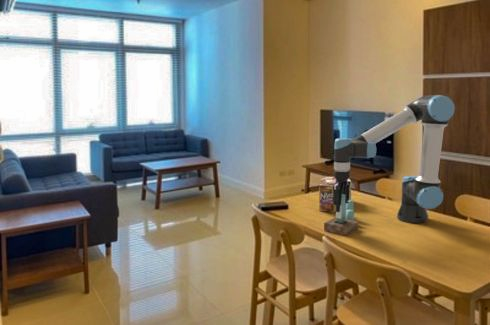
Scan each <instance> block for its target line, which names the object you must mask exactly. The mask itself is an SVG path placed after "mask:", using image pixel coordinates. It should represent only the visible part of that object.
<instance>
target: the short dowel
mask: <svg viewBox="0 0 490 325" xmlns="http://www.w3.org/2000/svg"><path fill="white" fill-rule="evenodd" d="M345 219H349V220H354V221H355V210H354V209H353V210H346V216H345Z"/></svg>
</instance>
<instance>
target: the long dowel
mask: <svg viewBox="0 0 490 325" xmlns="http://www.w3.org/2000/svg"><path fill="white" fill-rule="evenodd" d="M345 196H346V195H345V194H342V198H341V205H342V216H341V219H339V218H337V223H339V224H345V219H346V216H345Z"/></svg>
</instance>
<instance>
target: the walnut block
mask: <svg viewBox="0 0 490 325" xmlns="http://www.w3.org/2000/svg"><path fill="white" fill-rule="evenodd" d="M358 229H359V221H357V220H355V219H354V220H349V219H346V218H345V224H339V223H337V218H336V216H335V217H333V218H331V219H329V220H327V221H325V222H324V223H323V231H324V232H329V233H333V234H337V235H341V236H348V235H350V234H352V233H353V232H356V231H357V230H358Z"/></svg>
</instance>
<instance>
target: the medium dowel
mask: <svg viewBox="0 0 490 325" xmlns="http://www.w3.org/2000/svg"><path fill="white" fill-rule="evenodd" d="M348 202H349V203H346V210H354V209H355V208H354V203H355V201H354V200H352V199H351V200H349V201H348Z"/></svg>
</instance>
